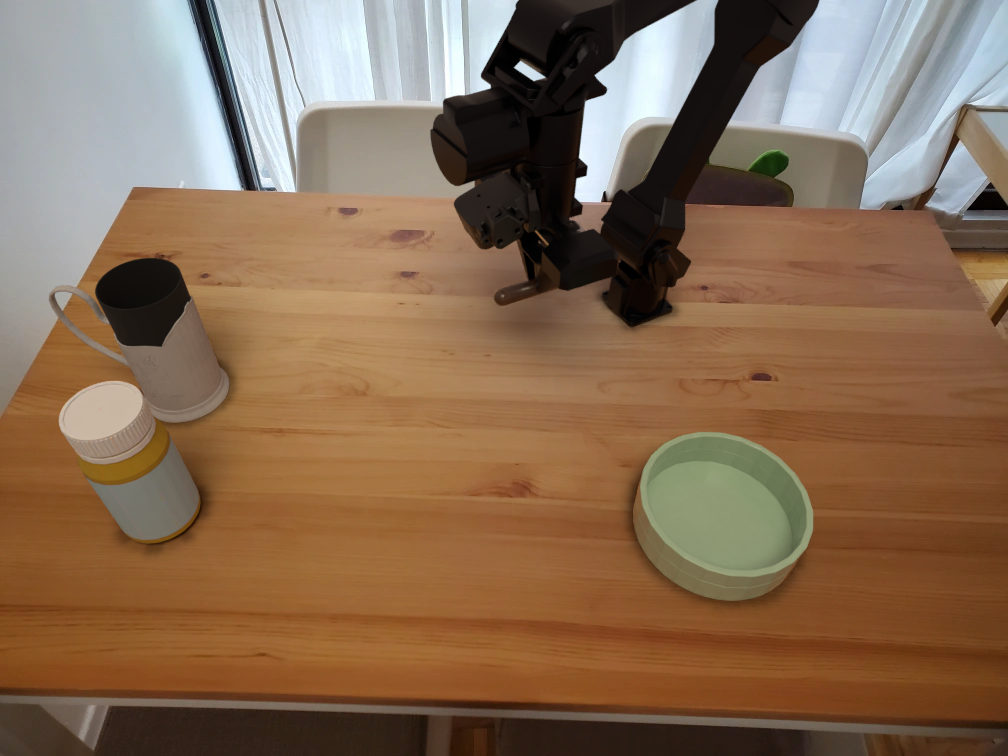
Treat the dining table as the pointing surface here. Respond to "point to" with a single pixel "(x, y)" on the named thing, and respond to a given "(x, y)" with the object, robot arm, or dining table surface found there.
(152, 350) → the glass holder
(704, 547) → the bowl
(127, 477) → the bottle
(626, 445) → the dining table surface
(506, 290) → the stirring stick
